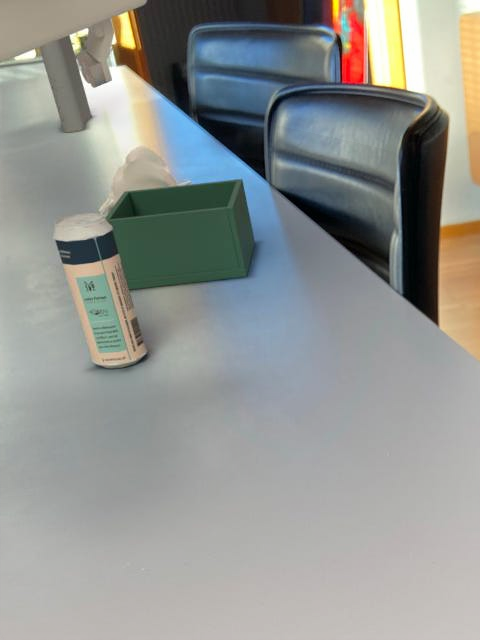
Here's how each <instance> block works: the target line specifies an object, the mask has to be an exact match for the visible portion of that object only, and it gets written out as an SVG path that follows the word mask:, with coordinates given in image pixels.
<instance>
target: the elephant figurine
mask: <svg viewBox="0 0 480 640" xmlns="http://www.w3.org/2000/svg"><path fill="white" fill-rule="evenodd" d="M191 184H192V181H191V180H188V181H183V182H181V183H178V181H177V180H176V179H175V178H174V177H173V176H172V175H171V174H170V169H169V167H168V166H167V165H166V163H165V162H164V160H163V159H162V157H161V156H160V155H159V154H158V153H157V152H156V151H154V149H151V148H150V147H147V146H145V145H139V146H136V147H135V148H133V149H131V150H130V151H129V152H128V153H127V155H126V157H125V162H124V165H121V166H120V167H119V168H118V169H117V170H116V171H115V174H114V177H113V180H112V185H111V191H110V195H108V197H107V199H106V200H105V201H104V203H103V204H102V205H101V206H100V207H99V209H98V212H97V213H99V214H102V215H103V216H104V217H105V216H106V214H108V213H109V212H110V211H111V209H112V208H113V207H114V205H115V204H116V202H117V201H118V200H119V198H120V197H121V196H122V194H123V193H124V192H125V191H134V190H144V189H153V188H163V187H172V186H181V185H191Z"/></svg>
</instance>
